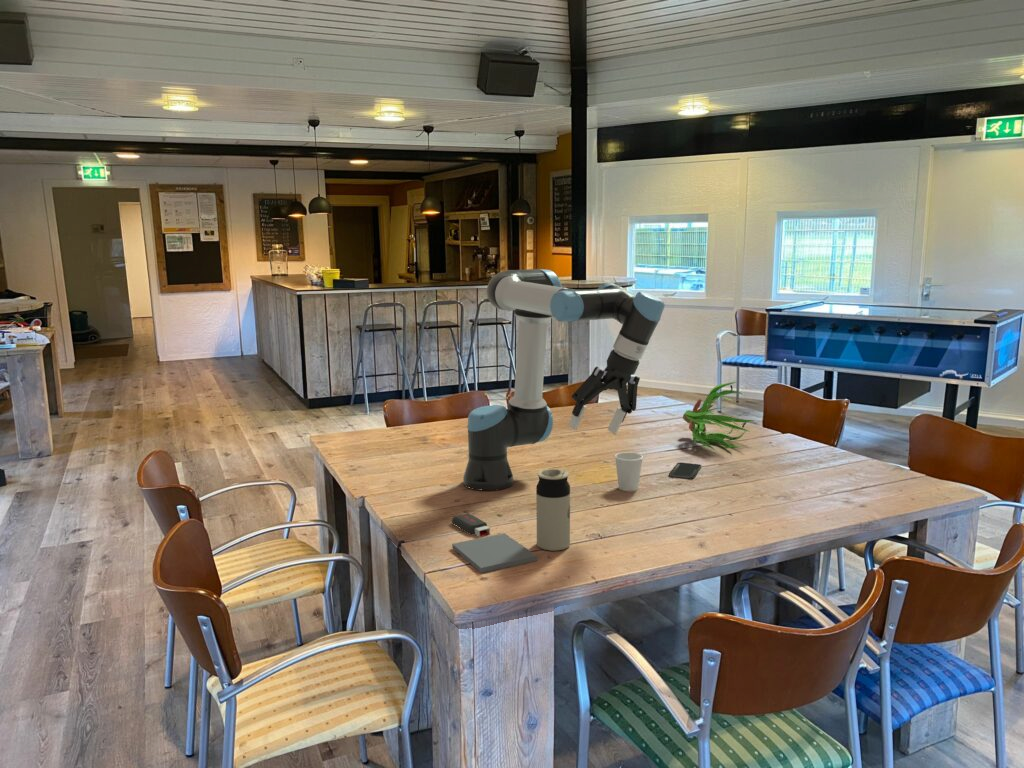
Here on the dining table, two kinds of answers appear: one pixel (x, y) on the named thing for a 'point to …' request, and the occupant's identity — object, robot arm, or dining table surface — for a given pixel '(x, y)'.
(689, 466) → the phone
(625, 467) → the dixie cup
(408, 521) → the dining table surface
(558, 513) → the travel mug
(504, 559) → the charcoal mat
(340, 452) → the dining table surface
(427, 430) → the dining table surface
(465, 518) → the usb drive
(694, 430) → the decorative plant
